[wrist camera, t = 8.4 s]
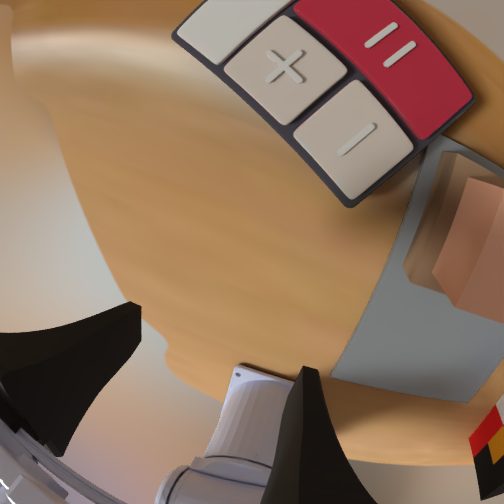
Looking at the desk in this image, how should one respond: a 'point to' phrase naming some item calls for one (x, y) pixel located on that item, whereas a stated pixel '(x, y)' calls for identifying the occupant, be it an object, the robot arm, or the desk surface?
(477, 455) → the puzzle toy
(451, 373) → the baseplate
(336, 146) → the calculator
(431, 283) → the walnut base brick
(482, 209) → the terracotta brick
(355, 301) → the desk surface
